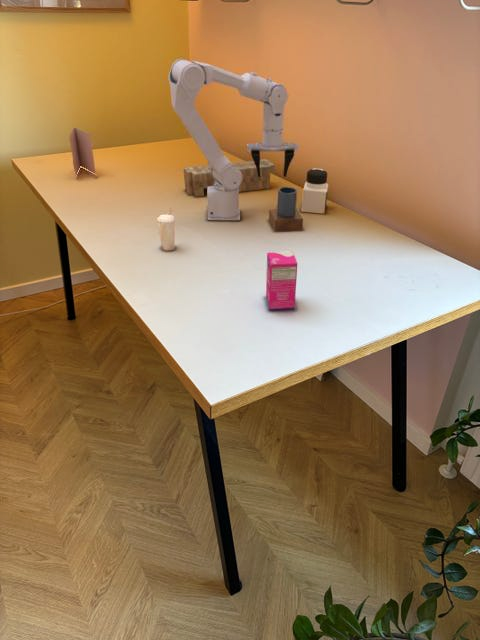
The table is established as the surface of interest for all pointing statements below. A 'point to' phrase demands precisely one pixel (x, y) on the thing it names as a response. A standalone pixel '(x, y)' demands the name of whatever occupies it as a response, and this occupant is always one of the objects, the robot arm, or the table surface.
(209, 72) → the robot arm
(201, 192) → the block tower
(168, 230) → the milkshake
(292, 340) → the table surface
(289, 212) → the cup
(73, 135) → the greeting card
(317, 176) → the medicine bottle
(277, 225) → the block
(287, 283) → the supplement box
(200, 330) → the table surface
